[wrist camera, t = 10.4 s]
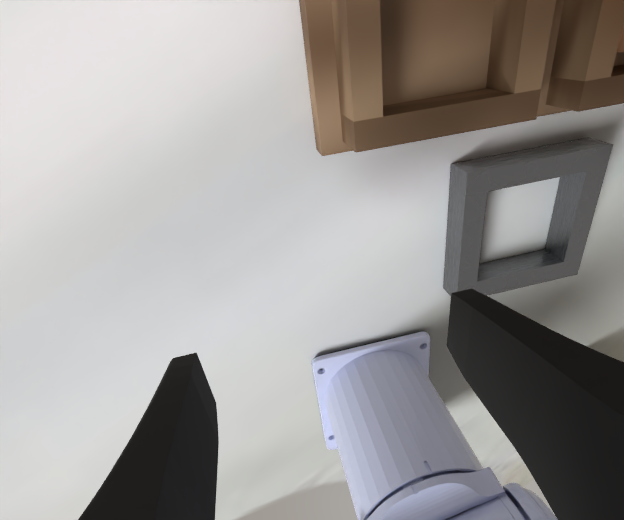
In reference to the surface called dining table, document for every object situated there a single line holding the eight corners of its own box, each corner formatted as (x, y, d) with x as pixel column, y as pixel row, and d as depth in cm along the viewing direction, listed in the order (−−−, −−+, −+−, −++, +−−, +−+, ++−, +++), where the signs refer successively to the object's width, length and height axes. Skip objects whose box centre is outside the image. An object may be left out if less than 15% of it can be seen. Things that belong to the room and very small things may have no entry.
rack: (681, 83, 21) (750, 90, 18) (316, 149, 19) (333, 169, 16) (761, -153, 16) (870, -191, 13) (287, -101, 14) (303, -134, 11)
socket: (558, 261, 25) (577, 274, 24) (443, 287, 25) (456, 302, 23) (588, 137, 21) (613, 144, 20) (451, 164, 20) (467, 173, 19)
